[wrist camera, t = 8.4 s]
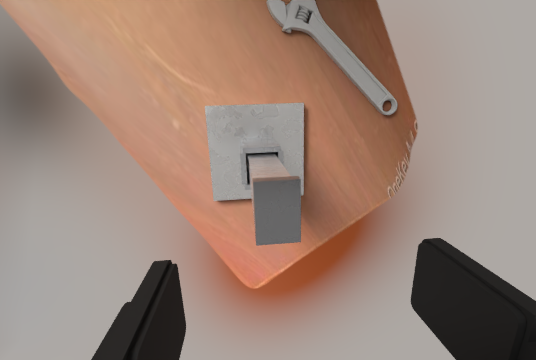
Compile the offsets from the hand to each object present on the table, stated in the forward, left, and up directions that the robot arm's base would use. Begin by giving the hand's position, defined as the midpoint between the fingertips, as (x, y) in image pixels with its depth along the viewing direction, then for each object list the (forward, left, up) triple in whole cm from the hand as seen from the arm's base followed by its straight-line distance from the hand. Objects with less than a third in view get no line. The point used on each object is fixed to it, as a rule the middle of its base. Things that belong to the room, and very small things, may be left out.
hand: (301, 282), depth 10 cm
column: (0, 0, -25) cm, 25 cm away
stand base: (0, 0, -32) cm, 32 cm away
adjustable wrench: (-13, +11, -32) cm, 37 cm away
